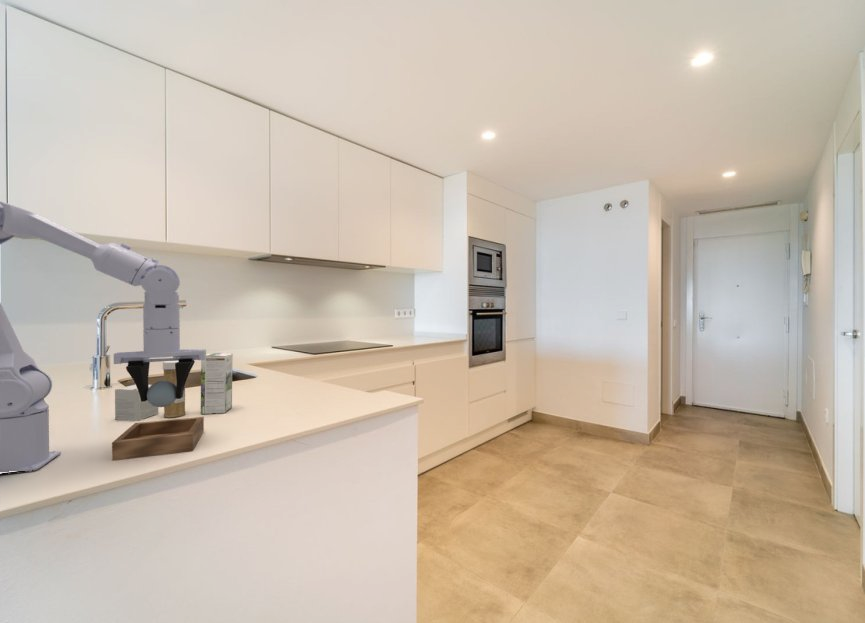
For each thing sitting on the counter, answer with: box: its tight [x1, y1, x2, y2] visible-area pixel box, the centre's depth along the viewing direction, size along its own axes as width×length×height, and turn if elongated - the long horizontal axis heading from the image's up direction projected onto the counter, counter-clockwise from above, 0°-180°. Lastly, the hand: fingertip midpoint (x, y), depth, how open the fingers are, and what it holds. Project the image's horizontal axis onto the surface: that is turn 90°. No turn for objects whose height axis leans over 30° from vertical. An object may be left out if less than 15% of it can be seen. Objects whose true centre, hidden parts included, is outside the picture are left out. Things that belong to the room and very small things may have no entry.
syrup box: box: [200, 352, 234, 415], centre depth 98 cm, size 6×6×14 cm
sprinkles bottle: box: [162, 361, 187, 419], centre depth 94 cm, size 5×5×13 cm
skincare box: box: [114, 383, 159, 422], centre depth 93 cm, size 6×6×7 cm
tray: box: [111, 416, 205, 461], centre depth 75 cm, size 12×12×3 cm
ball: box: [146, 380, 176, 408], centre depth 75 cm, size 5×5×5 cm
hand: (162, 399), depth 75 cm, fingers closed on ball, 5 cm apart
